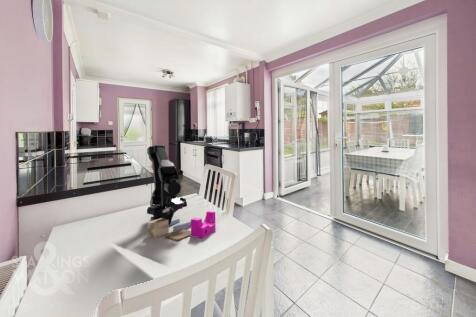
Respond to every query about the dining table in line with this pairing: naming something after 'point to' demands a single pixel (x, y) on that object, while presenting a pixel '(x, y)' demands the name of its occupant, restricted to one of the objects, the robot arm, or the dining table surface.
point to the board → (179, 235)
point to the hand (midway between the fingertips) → (168, 225)
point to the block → (158, 227)
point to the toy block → (203, 225)
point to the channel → (180, 226)
